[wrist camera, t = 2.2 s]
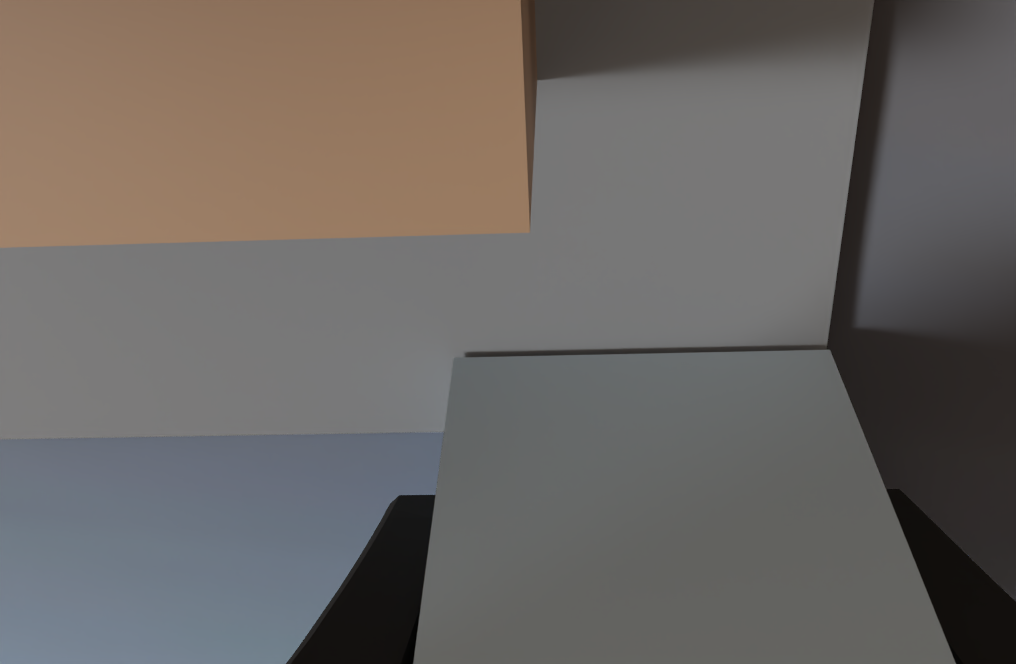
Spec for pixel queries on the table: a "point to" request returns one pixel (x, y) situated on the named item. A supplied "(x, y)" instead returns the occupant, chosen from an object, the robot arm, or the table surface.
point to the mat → (487, 247)
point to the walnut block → (264, 119)
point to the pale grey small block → (665, 518)
